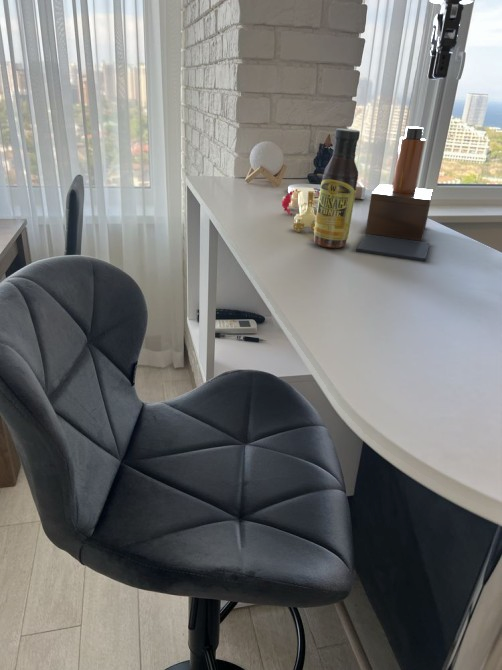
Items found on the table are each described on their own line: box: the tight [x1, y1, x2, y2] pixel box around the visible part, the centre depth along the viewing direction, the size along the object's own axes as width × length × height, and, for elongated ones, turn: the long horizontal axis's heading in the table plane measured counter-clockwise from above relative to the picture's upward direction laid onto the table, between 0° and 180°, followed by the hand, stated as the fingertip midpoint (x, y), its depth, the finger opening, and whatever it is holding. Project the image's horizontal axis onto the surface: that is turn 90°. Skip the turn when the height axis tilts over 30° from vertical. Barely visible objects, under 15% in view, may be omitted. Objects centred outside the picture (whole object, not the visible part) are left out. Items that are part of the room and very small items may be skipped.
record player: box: [287, 181, 366, 200], centre depth 137 cm, size 12×3×20 cm
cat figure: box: [281, 187, 320, 233], centre depth 109 cm, size 10×9×25 cm
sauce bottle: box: [313, 128, 361, 249], centre depth 89 cm, size 6×6×20 cm
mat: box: [355, 233, 430, 262], centre depth 93 cm, size 12×11×1 cm
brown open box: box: [365, 183, 434, 242], centre depth 104 cm, size 11×12×8 cm
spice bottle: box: [391, 126, 427, 194], centre depth 99 cm, size 5×5×12 cm
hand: (436, 78), depth 89 cm, fingers open, 8 cm apart
